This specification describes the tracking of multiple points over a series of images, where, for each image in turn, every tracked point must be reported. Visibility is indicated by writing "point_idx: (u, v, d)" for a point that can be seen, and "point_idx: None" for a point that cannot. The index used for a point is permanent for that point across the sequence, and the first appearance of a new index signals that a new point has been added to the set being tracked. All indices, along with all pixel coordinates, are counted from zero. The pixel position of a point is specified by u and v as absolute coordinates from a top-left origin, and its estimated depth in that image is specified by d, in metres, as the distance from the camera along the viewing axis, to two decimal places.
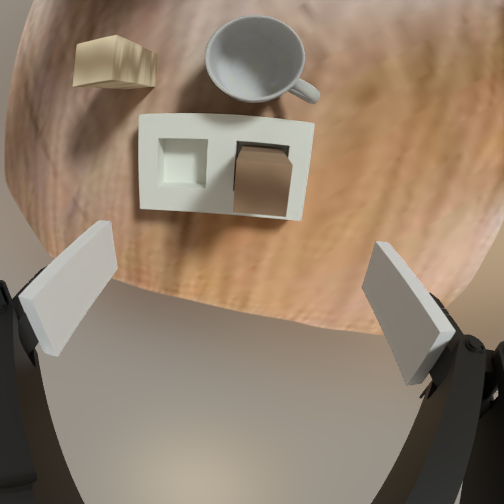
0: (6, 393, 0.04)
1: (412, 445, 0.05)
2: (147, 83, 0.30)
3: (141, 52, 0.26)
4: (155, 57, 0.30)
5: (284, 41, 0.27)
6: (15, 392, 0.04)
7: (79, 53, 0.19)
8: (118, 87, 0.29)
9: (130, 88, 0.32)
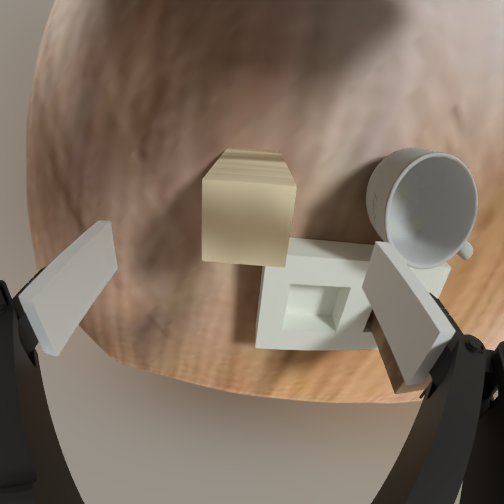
0: (6, 393, 0.04)
1: (412, 445, 0.05)
2: None
3: None
4: None
5: (446, 173, 0.23)
6: (15, 392, 0.04)
7: (211, 201, 0.15)
8: None
9: None
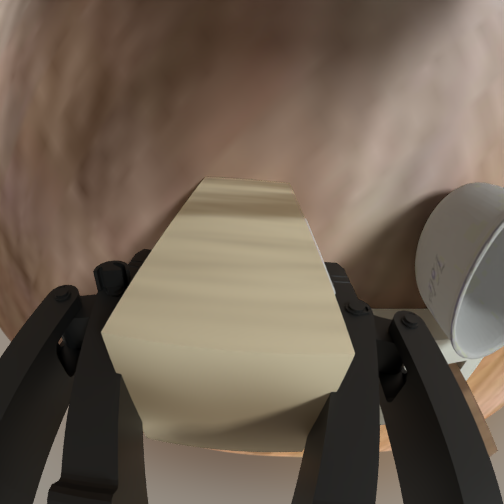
0: (105, 387, 0.05)
1: (314, 425, 0.06)
2: None
3: None
4: None
5: None
6: (117, 389, 0.05)
7: (136, 375, 0.06)
8: None
9: None
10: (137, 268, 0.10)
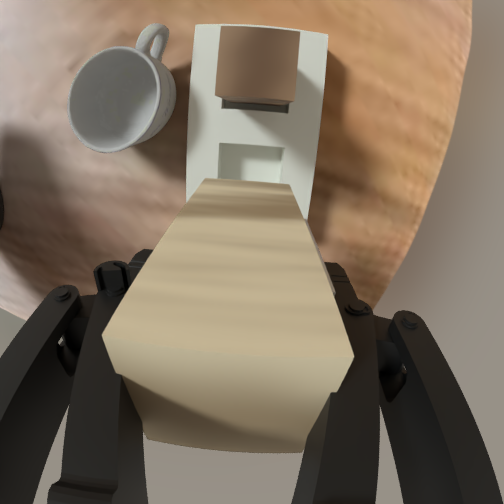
0: (105, 387, 0.05)
1: (314, 425, 0.06)
2: None
3: None
4: None
5: (102, 74, 0.23)
6: (117, 389, 0.05)
7: (137, 378, 0.06)
8: None
9: None
10: (137, 268, 0.10)
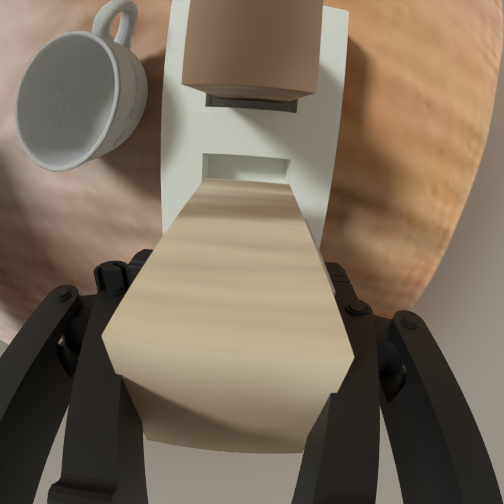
0: (105, 386, 0.05)
1: (314, 425, 0.06)
2: None
3: None
4: None
5: (60, 70, 0.16)
6: (117, 389, 0.05)
7: (136, 378, 0.06)
8: None
9: None
10: (137, 268, 0.10)
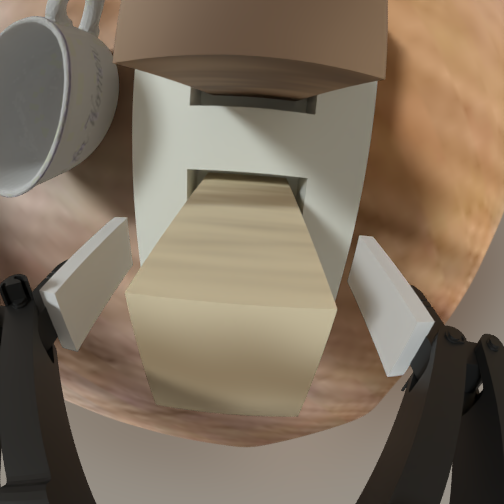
0: (23, 390, 0.04)
1: (395, 439, 0.06)
2: None
3: None
4: None
5: (19, 68, 0.11)
6: (32, 389, 0.04)
7: (152, 333, 0.07)
8: None
9: None
10: None
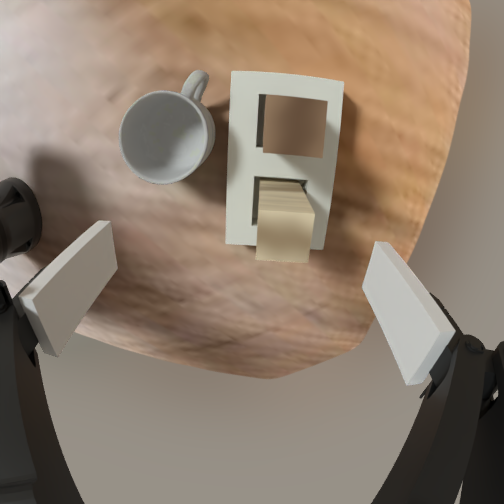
0: (6, 393, 0.04)
1: (412, 445, 0.05)
2: None
3: None
4: None
5: (147, 110, 0.30)
6: (15, 392, 0.04)
7: (264, 223, 0.25)
8: None
9: None
10: None
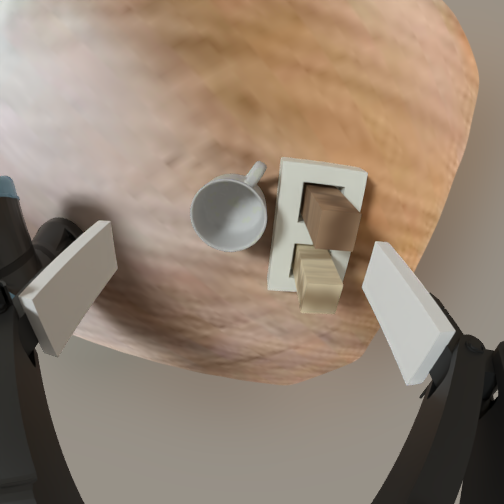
0: (6, 393, 0.04)
1: (412, 445, 0.05)
2: None
3: None
4: None
5: None
6: (15, 392, 0.04)
7: (309, 291, 0.37)
8: None
9: None
10: None
